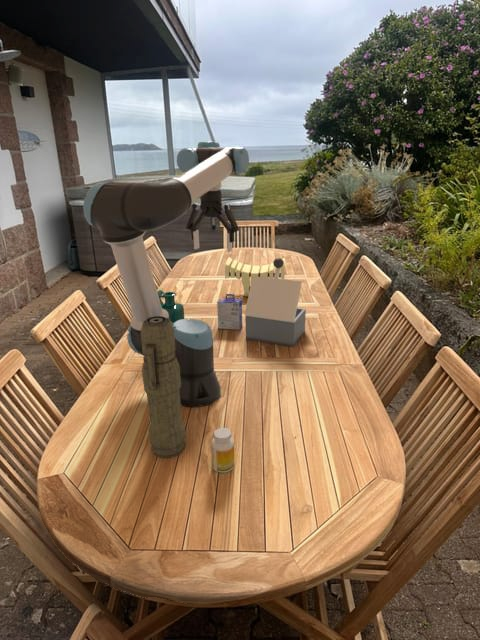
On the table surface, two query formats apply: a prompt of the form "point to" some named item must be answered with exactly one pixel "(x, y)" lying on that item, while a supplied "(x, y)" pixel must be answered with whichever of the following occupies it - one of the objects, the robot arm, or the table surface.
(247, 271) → the slatted curved stool
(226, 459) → the supplement bottle
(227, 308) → the ink cartridge box
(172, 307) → the pitcher
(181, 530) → the table surface
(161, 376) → the thermos
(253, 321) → the carton
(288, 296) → the lid
